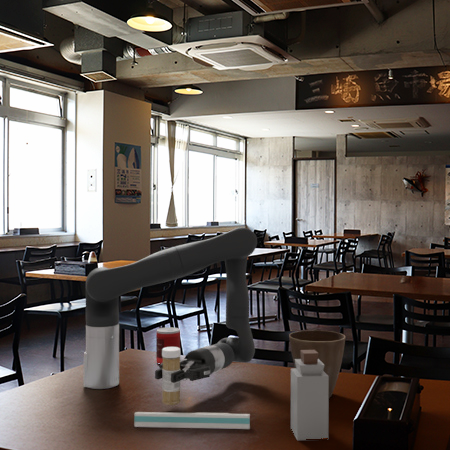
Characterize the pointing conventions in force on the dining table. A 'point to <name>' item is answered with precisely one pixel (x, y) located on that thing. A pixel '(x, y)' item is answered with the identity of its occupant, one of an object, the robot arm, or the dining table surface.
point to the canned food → (166, 340)
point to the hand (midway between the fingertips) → (164, 376)
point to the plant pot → (321, 350)
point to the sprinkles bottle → (170, 366)
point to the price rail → (192, 420)
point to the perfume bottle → (309, 397)
